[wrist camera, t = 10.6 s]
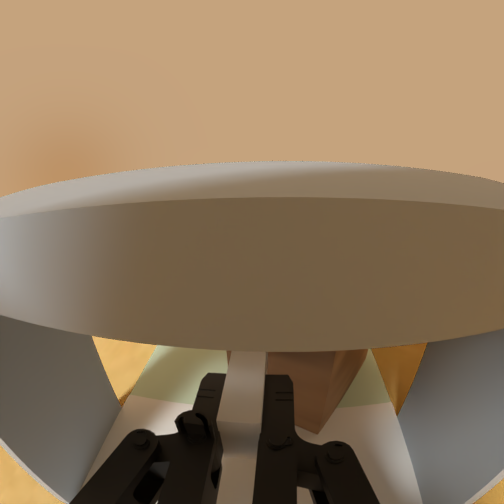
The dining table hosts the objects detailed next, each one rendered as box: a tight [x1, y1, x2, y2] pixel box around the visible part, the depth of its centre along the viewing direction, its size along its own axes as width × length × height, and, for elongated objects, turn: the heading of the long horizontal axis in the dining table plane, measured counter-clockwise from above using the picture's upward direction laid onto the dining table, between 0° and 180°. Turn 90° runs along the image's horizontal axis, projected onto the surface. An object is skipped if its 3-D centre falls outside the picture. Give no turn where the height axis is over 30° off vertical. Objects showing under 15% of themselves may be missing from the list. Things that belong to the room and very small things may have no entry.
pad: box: [130, 345, 391, 408], centre depth 21 cm, size 12×19×1 cm, turn 85°
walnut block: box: [226, 349, 368, 435], centre depth 18 cm, size 9×7×11 cm
